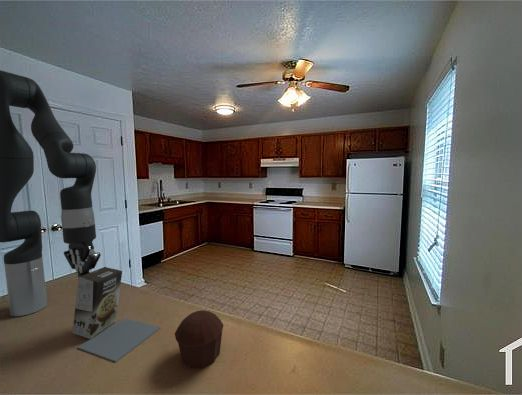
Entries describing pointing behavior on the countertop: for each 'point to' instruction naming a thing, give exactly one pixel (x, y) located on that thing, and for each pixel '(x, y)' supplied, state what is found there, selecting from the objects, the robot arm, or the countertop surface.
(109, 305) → the coffee box
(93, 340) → the mat
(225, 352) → the countertop surface
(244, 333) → the countertop surface
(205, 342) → the muffin
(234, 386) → the countertop surface
